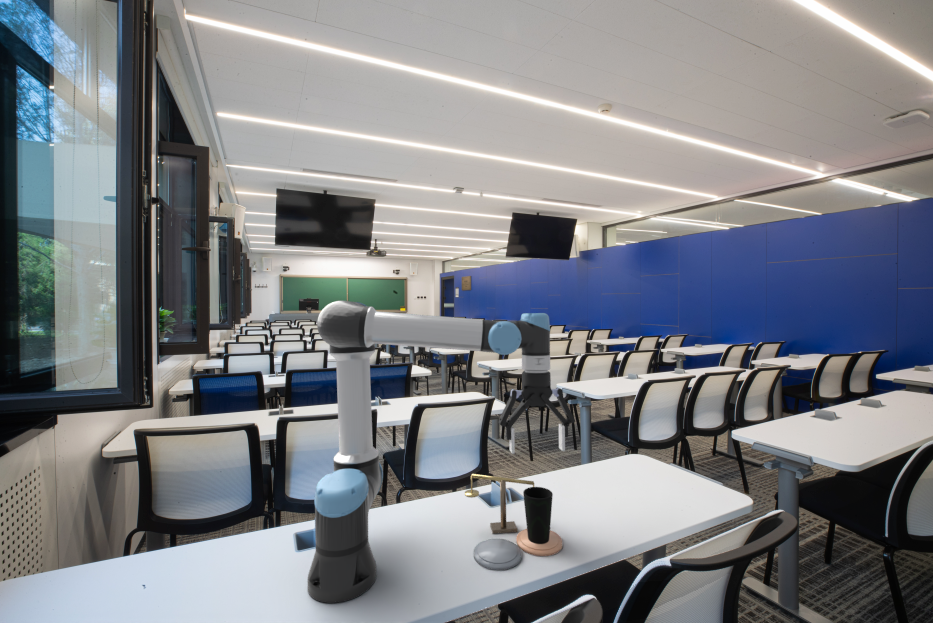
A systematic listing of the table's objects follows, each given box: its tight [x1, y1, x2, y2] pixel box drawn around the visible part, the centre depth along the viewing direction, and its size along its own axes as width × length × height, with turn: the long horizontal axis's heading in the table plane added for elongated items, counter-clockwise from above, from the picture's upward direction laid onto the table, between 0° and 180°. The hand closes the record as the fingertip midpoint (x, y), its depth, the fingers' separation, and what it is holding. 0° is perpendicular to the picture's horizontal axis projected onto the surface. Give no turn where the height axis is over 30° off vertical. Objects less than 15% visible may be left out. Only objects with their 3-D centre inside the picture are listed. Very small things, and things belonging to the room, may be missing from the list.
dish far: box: [516, 528, 563, 557], centre depth 106 cm, size 12×12×1 cm
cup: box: [522, 486, 554, 544], centre depth 107 cm, size 8×8×12 cm
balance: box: [464, 473, 535, 535], centre depth 114 cm, size 22×4×16 cm, turn 96°
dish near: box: [473, 538, 522, 571], centre depth 101 cm, size 12×12×1 cm
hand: (537, 450), depth 107 cm, fingers open, 13 cm apart
